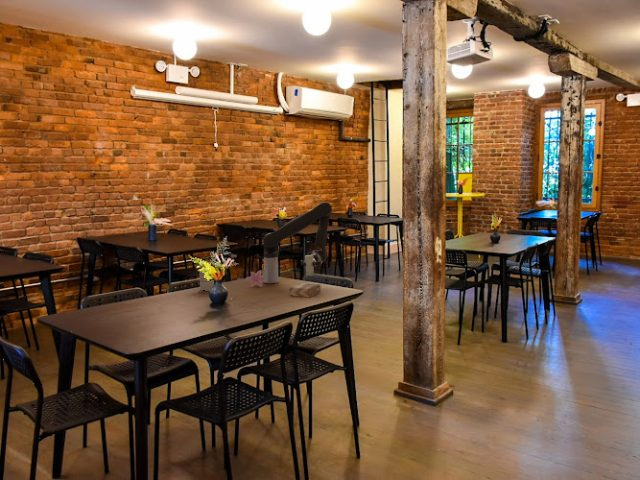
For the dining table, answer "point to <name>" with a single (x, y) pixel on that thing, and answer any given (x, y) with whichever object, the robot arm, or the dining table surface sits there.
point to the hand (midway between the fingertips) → (308, 264)
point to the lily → (256, 278)
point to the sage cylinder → (309, 265)
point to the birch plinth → (304, 290)
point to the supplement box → (205, 283)
